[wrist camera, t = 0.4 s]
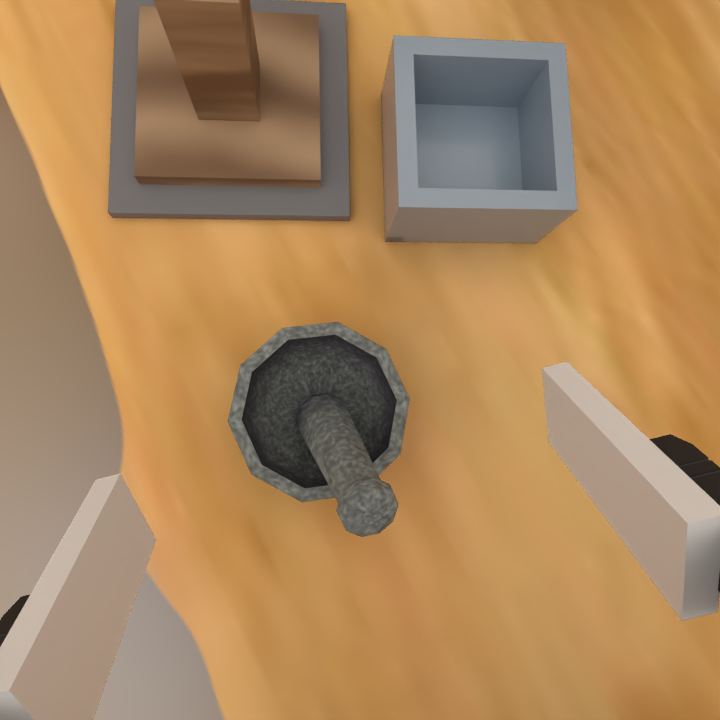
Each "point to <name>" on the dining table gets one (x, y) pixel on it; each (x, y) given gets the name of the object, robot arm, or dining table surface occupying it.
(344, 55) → the mat
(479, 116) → the blue-grey square box
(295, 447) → the mortar and pestle
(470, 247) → the dining table surface
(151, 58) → the lid
